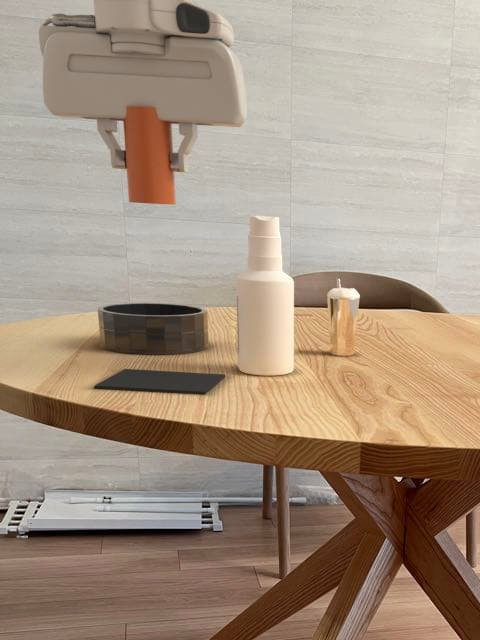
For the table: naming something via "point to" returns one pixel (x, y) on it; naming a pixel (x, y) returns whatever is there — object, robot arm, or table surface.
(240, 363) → the spray bottle
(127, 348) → the pot
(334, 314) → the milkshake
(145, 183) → the orange cylinder
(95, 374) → the table surface
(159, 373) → the mat
